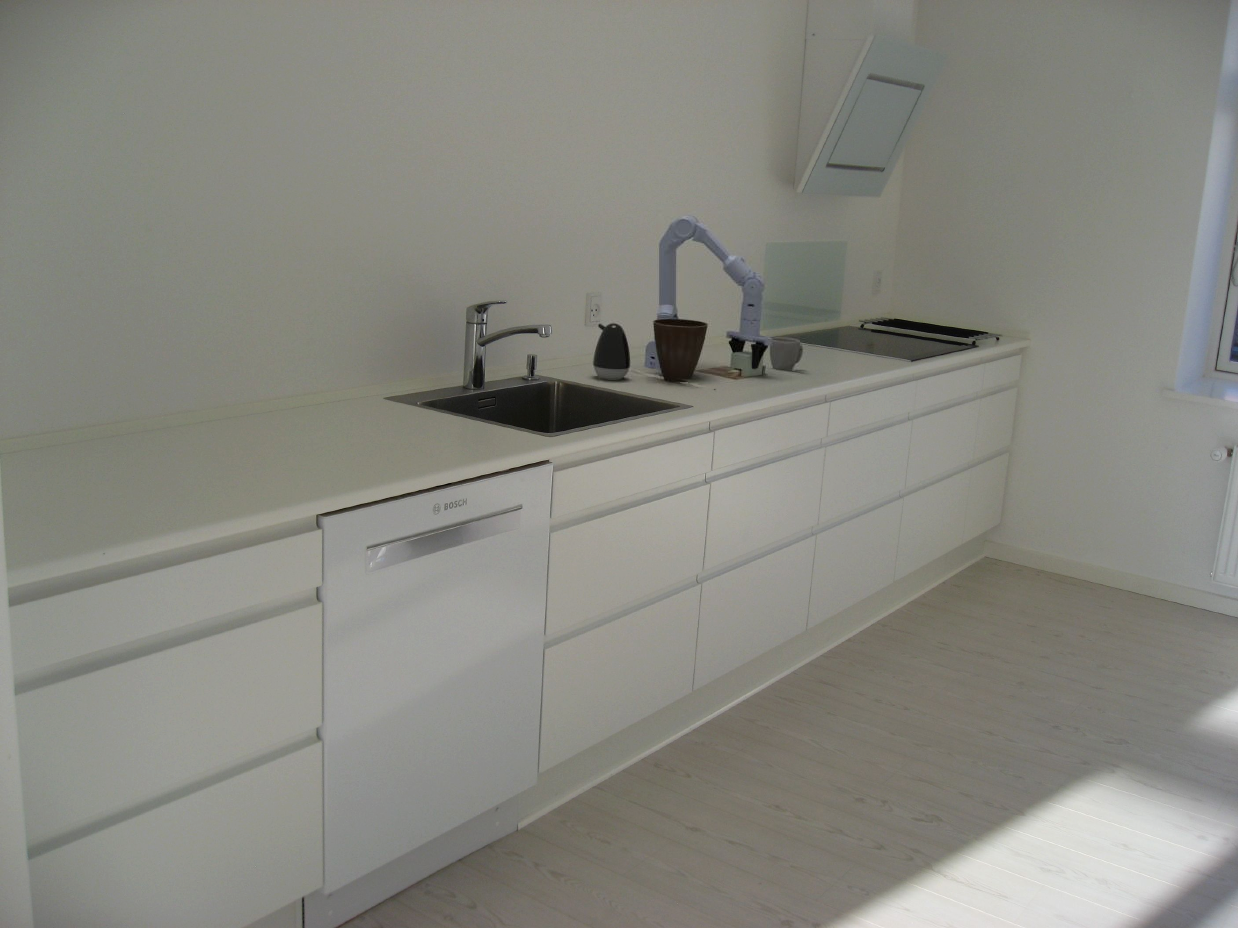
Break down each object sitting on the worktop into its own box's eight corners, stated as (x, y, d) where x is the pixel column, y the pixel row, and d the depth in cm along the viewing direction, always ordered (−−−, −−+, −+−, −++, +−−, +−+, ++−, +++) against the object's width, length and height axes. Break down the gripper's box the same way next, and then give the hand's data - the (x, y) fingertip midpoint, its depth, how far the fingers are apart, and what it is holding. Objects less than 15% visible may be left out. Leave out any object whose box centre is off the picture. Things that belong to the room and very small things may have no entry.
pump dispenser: (607, 373, 314) (611, 319, 310) (636, 379, 308) (640, 324, 304) (583, 377, 306) (586, 321, 303) (613, 383, 300) (616, 327, 296)
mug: (782, 375, 328) (786, 342, 326) (761, 370, 335) (764, 338, 332) (810, 372, 336) (814, 340, 333) (789, 367, 342) (792, 336, 340)
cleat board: (735, 383, 312) (736, 370, 311) (693, 374, 321) (694, 362, 320) (767, 378, 322) (768, 366, 321) (725, 369, 332) (726, 357, 331)
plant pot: (658, 385, 302) (662, 326, 298) (642, 374, 316) (646, 317, 312) (710, 385, 306) (715, 327, 302) (692, 375, 320) (697, 319, 316)
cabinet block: (745, 377, 316) (747, 356, 314) (729, 373, 319) (731, 353, 318) (761, 374, 321) (763, 353, 320) (746, 371, 325) (748, 350, 323)
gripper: (780, 322, 314) (775, 369, 318) (738, 315, 324) (734, 361, 327) (765, 323, 309) (760, 372, 313) (723, 316, 319) (719, 363, 322)
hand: (746, 366), depth 320 cm, fingers closed on cabinet block, 5 cm apart
